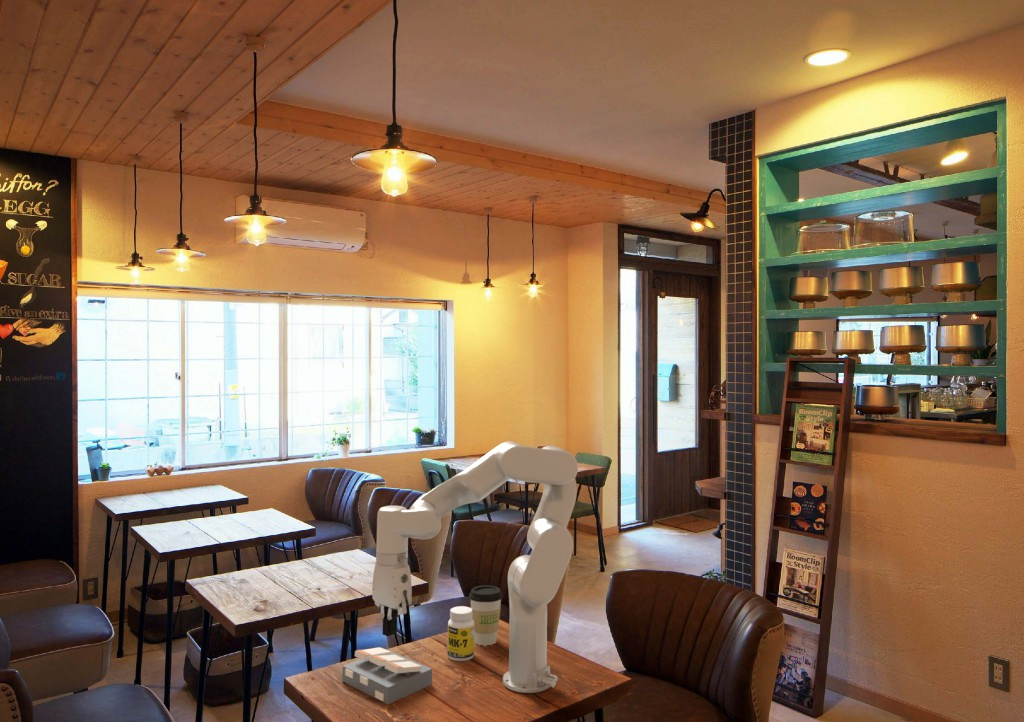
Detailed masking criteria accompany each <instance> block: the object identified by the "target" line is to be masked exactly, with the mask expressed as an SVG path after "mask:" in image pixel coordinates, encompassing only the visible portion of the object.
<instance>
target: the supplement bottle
mask: <svg viewBox="0 0 1024 722" xmlns="http://www.w3.org/2000/svg"><path fill="white" fill-rule="evenodd" d="M472 616H473V615H472V609H471V607H469V606H465V605H460V606H459V605H458V606H454V607H452V608H450V609H449V620H448V622H447V648H446V649H447V652H446V653H447V657H448V659H449V660H451V661H456V662H465V661H466V662H467V661H469V660H471V659H473V658H474V655H475V639H474V621H473V619H472Z"/></svg>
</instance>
